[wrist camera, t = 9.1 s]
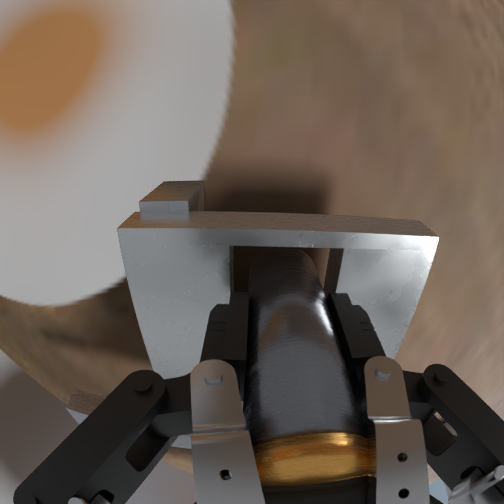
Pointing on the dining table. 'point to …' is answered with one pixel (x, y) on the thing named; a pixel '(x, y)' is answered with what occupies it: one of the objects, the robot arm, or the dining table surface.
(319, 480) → the pin
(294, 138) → the dining table surface
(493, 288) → the dining table surface
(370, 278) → the grey metal bracket
